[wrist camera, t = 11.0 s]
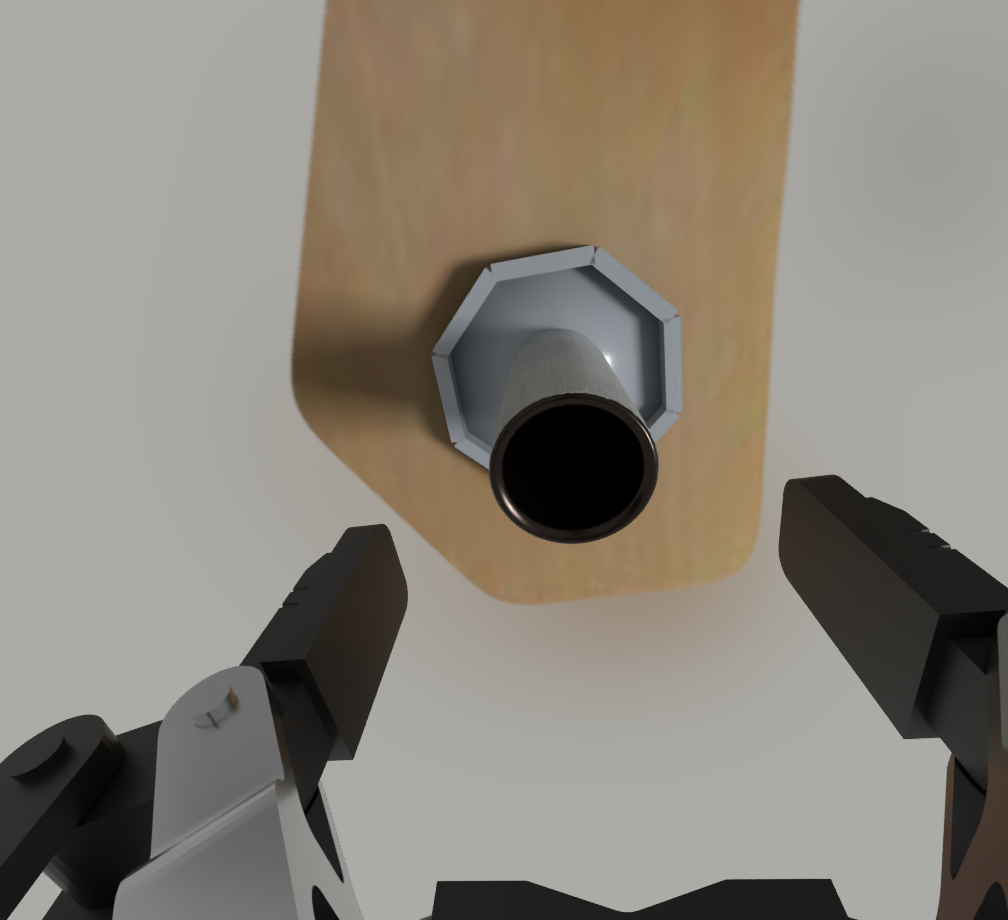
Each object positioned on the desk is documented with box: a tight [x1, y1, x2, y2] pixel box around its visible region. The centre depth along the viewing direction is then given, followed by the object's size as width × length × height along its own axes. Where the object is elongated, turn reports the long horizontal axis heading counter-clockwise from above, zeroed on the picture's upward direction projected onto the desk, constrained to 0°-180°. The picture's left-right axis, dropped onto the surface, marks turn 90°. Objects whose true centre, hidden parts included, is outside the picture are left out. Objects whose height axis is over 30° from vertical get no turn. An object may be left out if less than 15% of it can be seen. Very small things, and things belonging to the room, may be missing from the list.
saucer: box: [431, 245, 683, 469], centre depth 22 cm, size 11×11×1 cm
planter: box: [489, 329, 659, 544], centre depth 17 cm, size 4×4×10 cm
